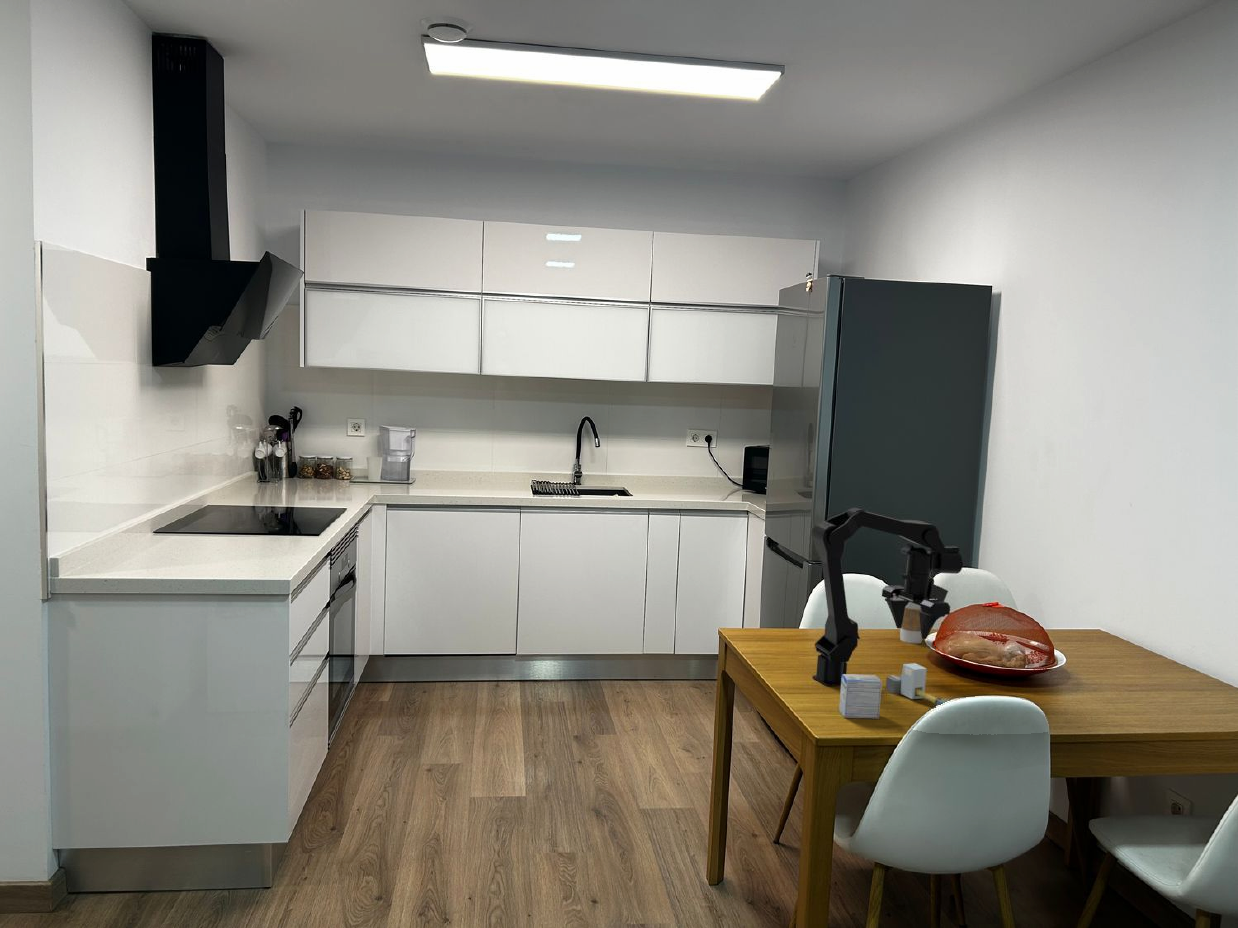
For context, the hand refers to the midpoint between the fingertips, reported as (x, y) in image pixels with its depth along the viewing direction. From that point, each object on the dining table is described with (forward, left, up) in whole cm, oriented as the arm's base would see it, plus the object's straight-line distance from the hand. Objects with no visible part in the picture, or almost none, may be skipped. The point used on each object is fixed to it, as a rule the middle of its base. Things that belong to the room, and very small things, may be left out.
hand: (911, 633), depth 230 cm
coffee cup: (+24, +28, -12) cm, 39 cm away
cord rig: (-8, -14, -12) cm, 20 cm away
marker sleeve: (-8, -11, -12) cm, 18 cm away
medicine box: (-28, -18, -12) cm, 35 cm away
